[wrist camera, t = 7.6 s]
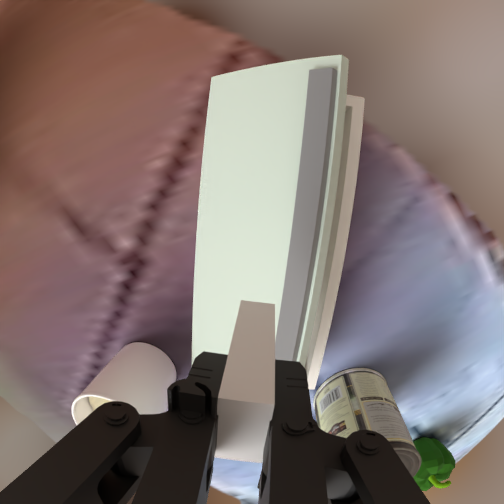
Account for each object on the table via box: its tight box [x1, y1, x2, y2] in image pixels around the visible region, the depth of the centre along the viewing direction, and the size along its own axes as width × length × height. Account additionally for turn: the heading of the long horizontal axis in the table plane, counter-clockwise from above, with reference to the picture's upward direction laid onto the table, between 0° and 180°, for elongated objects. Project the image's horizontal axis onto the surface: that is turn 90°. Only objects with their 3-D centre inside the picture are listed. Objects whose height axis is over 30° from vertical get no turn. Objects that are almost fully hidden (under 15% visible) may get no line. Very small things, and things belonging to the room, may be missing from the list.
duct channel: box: [305, 94, 365, 389], centre depth 30 cm, size 12×28×6 cm, turn 174°
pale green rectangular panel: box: [192, 55, 349, 368], centre depth 23 cm, size 12×28×1 cm
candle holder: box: [72, 342, 177, 425], centre depth 33 cm, size 10×10×12 cm
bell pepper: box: [413, 437, 455, 491], centre depth 36 cm, size 8×8×10 cm
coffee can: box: [314, 368, 422, 477], centre depth 31 cm, size 10×10×14 cm
